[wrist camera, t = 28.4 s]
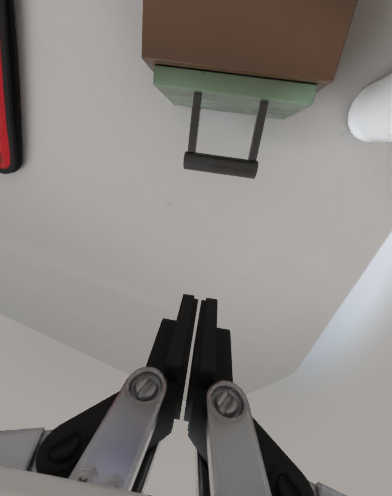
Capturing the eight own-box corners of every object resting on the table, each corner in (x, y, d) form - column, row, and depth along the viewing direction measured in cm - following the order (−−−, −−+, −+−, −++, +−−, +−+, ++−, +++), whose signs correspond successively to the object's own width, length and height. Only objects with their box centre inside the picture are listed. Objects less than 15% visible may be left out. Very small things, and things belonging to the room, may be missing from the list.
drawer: (270, 175, 25) (289, 184, 18) (169, 161, 26) (149, 165, 19) (333, -79, 18) (409, -235, 10) (188, -92, 18) (166, -250, 11)
